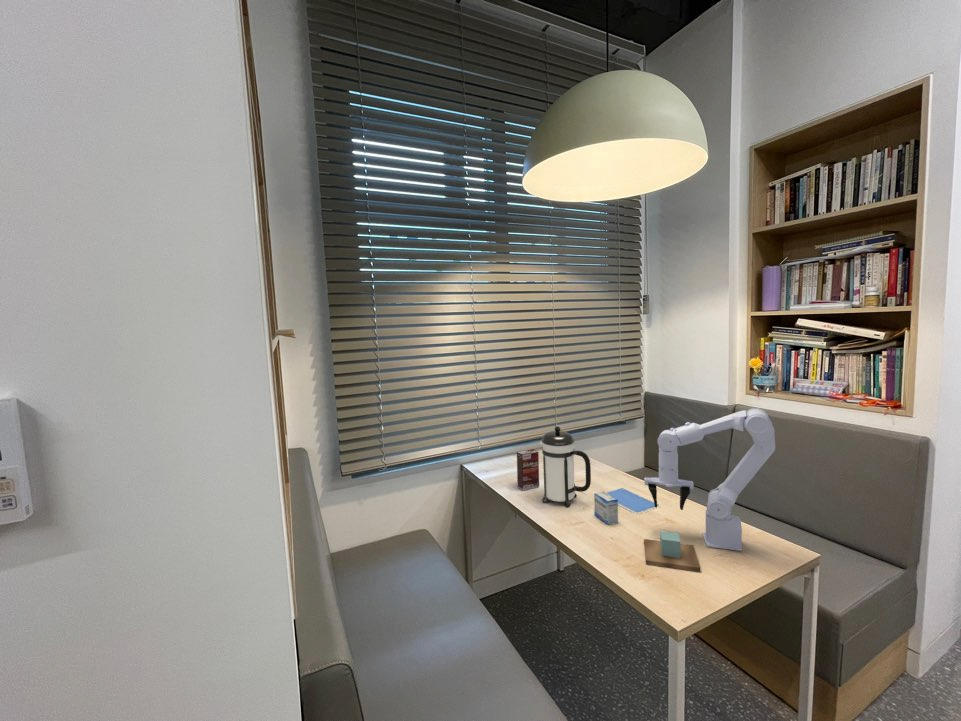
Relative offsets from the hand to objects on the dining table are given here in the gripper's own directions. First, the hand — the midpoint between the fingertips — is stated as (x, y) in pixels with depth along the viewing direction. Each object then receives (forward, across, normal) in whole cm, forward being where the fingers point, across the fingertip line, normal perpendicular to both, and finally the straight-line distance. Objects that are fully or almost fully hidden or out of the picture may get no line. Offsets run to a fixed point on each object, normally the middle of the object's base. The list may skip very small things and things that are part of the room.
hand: (668, 507), depth 132 cm
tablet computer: (+9, -12, +21) cm, 26 cm away
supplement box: (+9, -53, +25) cm, 59 cm away
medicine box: (+9, -20, +4) cm, 22 cm away
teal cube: (+7, -1, -15) cm, 17 cm away
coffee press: (+9, -37, +16) cm, 41 cm away
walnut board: (+8, -1, -15) cm, 17 cm away
